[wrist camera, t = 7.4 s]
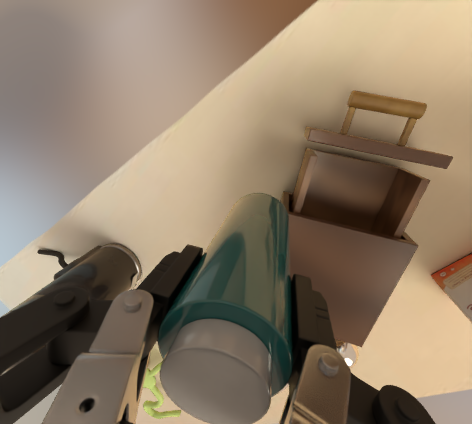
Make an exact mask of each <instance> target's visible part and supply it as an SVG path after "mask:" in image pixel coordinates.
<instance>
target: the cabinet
mask: <svg viewBox="0 0 472 424" xmlns="http://www.w3.org/2000/svg"><path fill="white" fill-rule="evenodd" d="M292 196H293V193H289V192H285V191H283V194H282V198H281V201H280V202H281V203H282V204H283V205H284V207H285V208H286V210H287V213H288V216H289V226H290V262H291V279H292V277H293V275H294V274H298V275H302V276H305V277H309V278H311V283H312V290H315V291H318V292H320V293H321V294H322V296H323V297H324V299H325V300H326V302H327V306H328V313H329V316H330V321H331V325H332V329H333V334H334V338H335V339H337V340H340V341H343V342H347V343H350V344H353V345H357V346H360V347H362V345H363V344H364V342H365V340H366V338H367V337H368V335H369V333H370V331H371V329H372V328H373V326H374V324H375V322H376V321H377V319H378V317H379V315H380V313H381V312H382V310H383V308H384V306H385V305H386V303H387V301H388V299H389V297H390V296H391V294H392V292H393V290H394V289H395V287H396V285H397V283H398V281H399V280H400V278H401V276H402V274H403V273H404V271H405V269H406V267H407V265H408V264H409V262H410V260H411V258H412V257H413V255H414V253H415V251H416V249H417V248H418V245H417V244H416V243H415V242H414V241H413V240H412V239H411V238H410V237H409V236H408V235H407V234H406V233H405V232H403V234H402V236H401V238H400V239H399V238H395V237H391V236H387V235H383V234H378V233H374V232H370V231H366V230H362V229H358V228H354V227H350V226H346V225H342V224H338V223H333V222H329V221H325V220H321V219H317V218H313V217H309V216H305V215H301V214H297V213H293V212H289V206H290V203H291V200H292Z"/></svg>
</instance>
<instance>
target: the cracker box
mask: <svg viewBox="0 0 472 424" xmlns="http://www.w3.org/2000/svg"><path fill="white" fill-rule="evenodd" d="M431 277H432V278H433V279H434V280H435V281H436V282H437V284H438V285H439V286H440V287H441V288H442V290H443V291H444V292H445V293H446V294H447V295H448V296H449V298H450V299H451V300H452V301H453V302H454V303H455V304H456V305H457V307H458V308H459V309H460V310H461V311H462V312H463V313H464V315H465V316H466V317H467V318H468V319H469V320H470V321H471V322H472V254H470V255H468V256H466V257H464V258H463V259H461V260H459V261H457V262H455V263H453V264H451V265H449V266H448V267H445V268H444V269H442V270H440V271H438V272H436V273H434V274H432V275H431Z"/></svg>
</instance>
